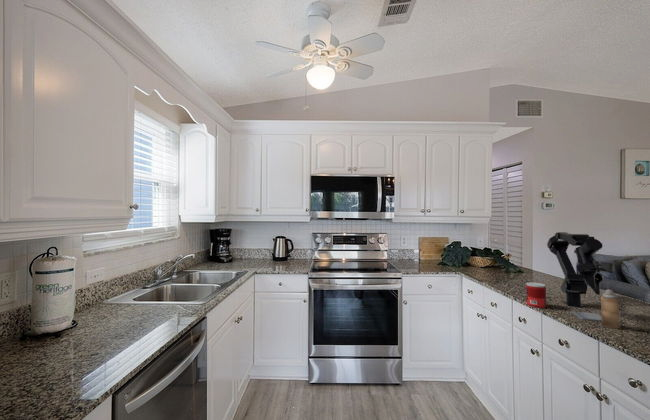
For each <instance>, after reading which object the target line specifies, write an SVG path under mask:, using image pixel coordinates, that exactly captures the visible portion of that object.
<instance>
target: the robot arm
mask: <svg viewBox="0 0 650 420" xmlns="http://www.w3.org/2000/svg"><path fill="white" fill-rule="evenodd" d="M546 244H547V248H548V250H549V251H550V252H551V253H552V254H553V255H554V256H556V259H557V260H558V263H559V266H560V268H561V270H562V273H563V275H564V279H563V282H562V284H561V285H560V290H561V292H563V293H564V294H565V300H563V301H562V302H563V303H564V304H565V305H566V306H569V307H570V306H571V307H579V308H585V305H583V304H582V295H586V294H587V290H588V286H589V287H590V288H591V289H592V291H593V292H594V293H595V294H596V295H598V296H599V295H600V294H601V284H602V283H603V282H604V281H605V279H604V277H603V275H602V274H601V272H606V273H609V274H614V272H615V265H614V263H612V262H605V261H597V260H596V259H595V258H594V255H595V254H596V253H598V252H599V251H601V249H603V243H602V242H601V241H600V240H599V239H597V238H595V236H590V235H589V234H588V233H587V234H586V233H584V234H583V233H581V234H580V233H569V232H567V231H565V232H561V231H560V232H556V233H554V235H553V236H552V237H550V238H548V240H547V243H546ZM570 245H571V246H572V247H574V246H575V249H574V250H573V253H574V254H575V255H576V258H577V259H576V260H577V263H578V264H577V265H576V267H575V268H576V270H577V272H578V273H577V272H576V270H575V268H574V266H573V264H572V261H571V259H570V257H569V255H568V253H567V251H568V248H569V246H570ZM577 246H578V247H577Z"/></svg>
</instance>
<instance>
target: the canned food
mask: <svg viewBox="0 0 650 420" xmlns="http://www.w3.org/2000/svg"><path fill="white" fill-rule="evenodd" d="M525 289H526V295H525V296H526V305H527V306H529V307H532V308H537V309H544V308H546V307H547V285H546V284H544V283H539V282H533V281H532V282H530V281H529V282H526V284H525Z"/></svg>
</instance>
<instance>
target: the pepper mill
mask: <svg viewBox="0 0 650 420" xmlns="http://www.w3.org/2000/svg"><path fill="white" fill-rule="evenodd" d="M600 301H601V302H600V305H601V306H600V307H601V313H600V314H601V315H600V316H601V317H602V322H601V326H602V325H603V326H602V327H605V328H608V329H616V330H617V329H620V326H619V319H620V318H619V317H620V316H619V298H618V297H617V294H615V293H614V290H612V289H609V288H608V289H605V291H604V293H602V295H601V296H600Z"/></svg>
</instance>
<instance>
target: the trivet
mask: <svg viewBox="0 0 650 420" xmlns="http://www.w3.org/2000/svg"><path fill="white" fill-rule="evenodd" d="M572 314H573V315H575V316H576V317H577V318H579V319H580V320H581V319H582V320H581V321H587V320H588V321H589V322H597V321H600V323H602V317H601V315H600V314H598V313H596V312H595V313H593V312H584V311H574V310H573V311H572Z"/></svg>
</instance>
